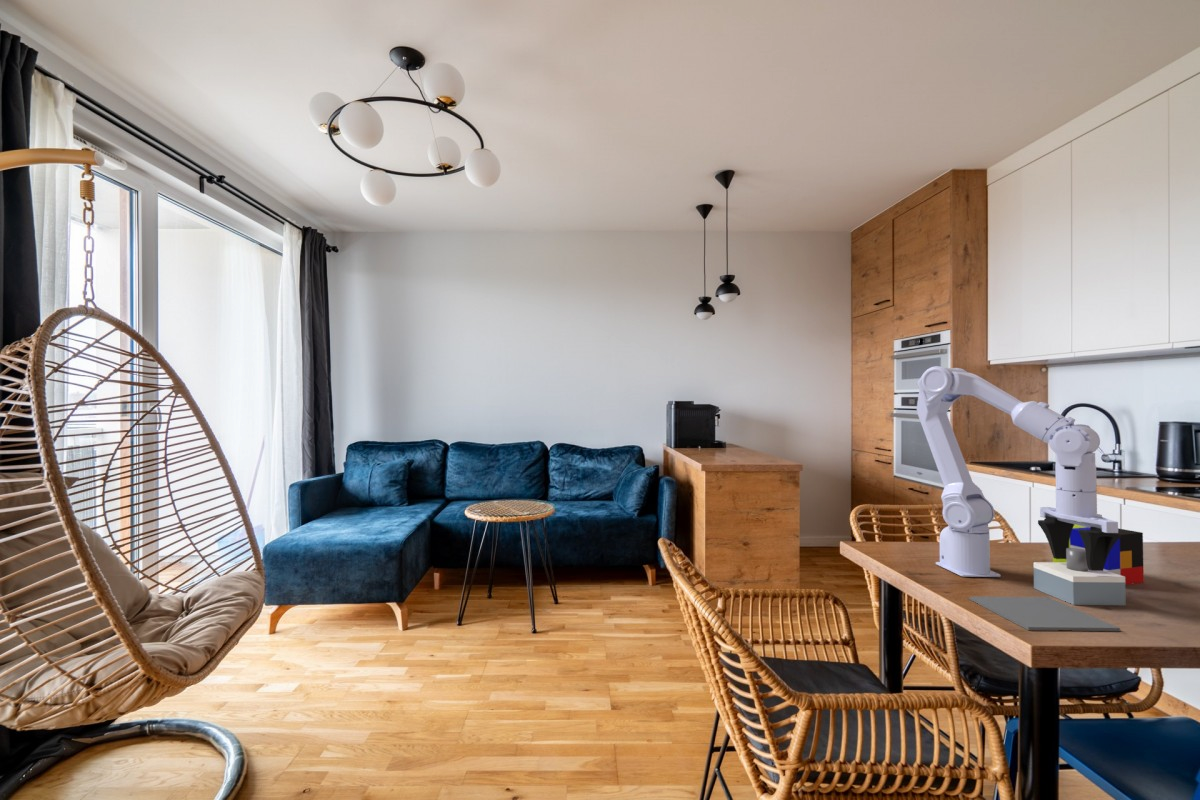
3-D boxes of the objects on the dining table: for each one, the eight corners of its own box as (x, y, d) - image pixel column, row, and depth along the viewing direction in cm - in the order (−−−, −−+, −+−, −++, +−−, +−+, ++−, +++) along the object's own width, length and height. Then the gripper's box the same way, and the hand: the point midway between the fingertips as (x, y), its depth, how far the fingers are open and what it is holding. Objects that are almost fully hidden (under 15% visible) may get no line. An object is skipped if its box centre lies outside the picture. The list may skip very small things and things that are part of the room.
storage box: (1033, 588, 105) (1033, 567, 105) (1081, 588, 105) (1081, 567, 105) (1073, 604, 96) (1073, 582, 96) (1125, 605, 96) (1125, 582, 96)
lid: (1033, 571, 105) (1033, 544, 105) (1081, 571, 105) (1080, 544, 105) (1073, 586, 96) (1072, 556, 96) (1125, 587, 96) (1124, 556, 96)
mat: (969, 599, 99) (969, 596, 99) (1047, 599, 98) (1047, 597, 98) (1028, 630, 85) (1028, 627, 85) (1120, 631, 84) (1120, 627, 84)
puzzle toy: (1108, 587, 106) (1107, 535, 106) (1053, 572, 115) (1052, 525, 115) (1143, 583, 108) (1142, 532, 109) (1086, 569, 118) (1085, 522, 118)
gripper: (1135, 496, 93) (1137, 575, 93) (1065, 484, 108) (1066, 553, 107) (1093, 496, 93) (1095, 575, 93) (1028, 484, 108) (1030, 553, 108)
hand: (1077, 564), depth 100 cm, fingers open, 7 cm apart
